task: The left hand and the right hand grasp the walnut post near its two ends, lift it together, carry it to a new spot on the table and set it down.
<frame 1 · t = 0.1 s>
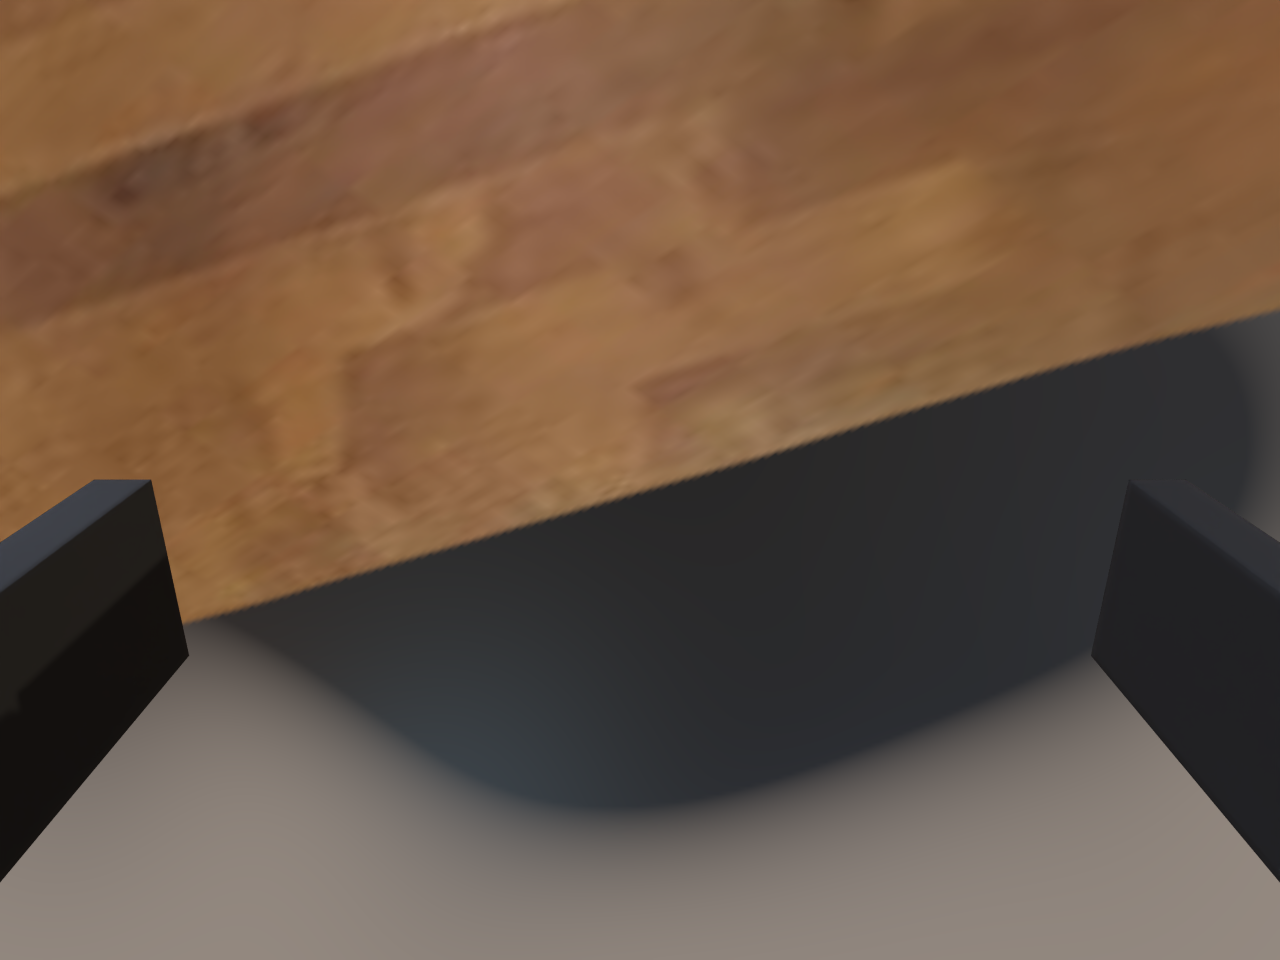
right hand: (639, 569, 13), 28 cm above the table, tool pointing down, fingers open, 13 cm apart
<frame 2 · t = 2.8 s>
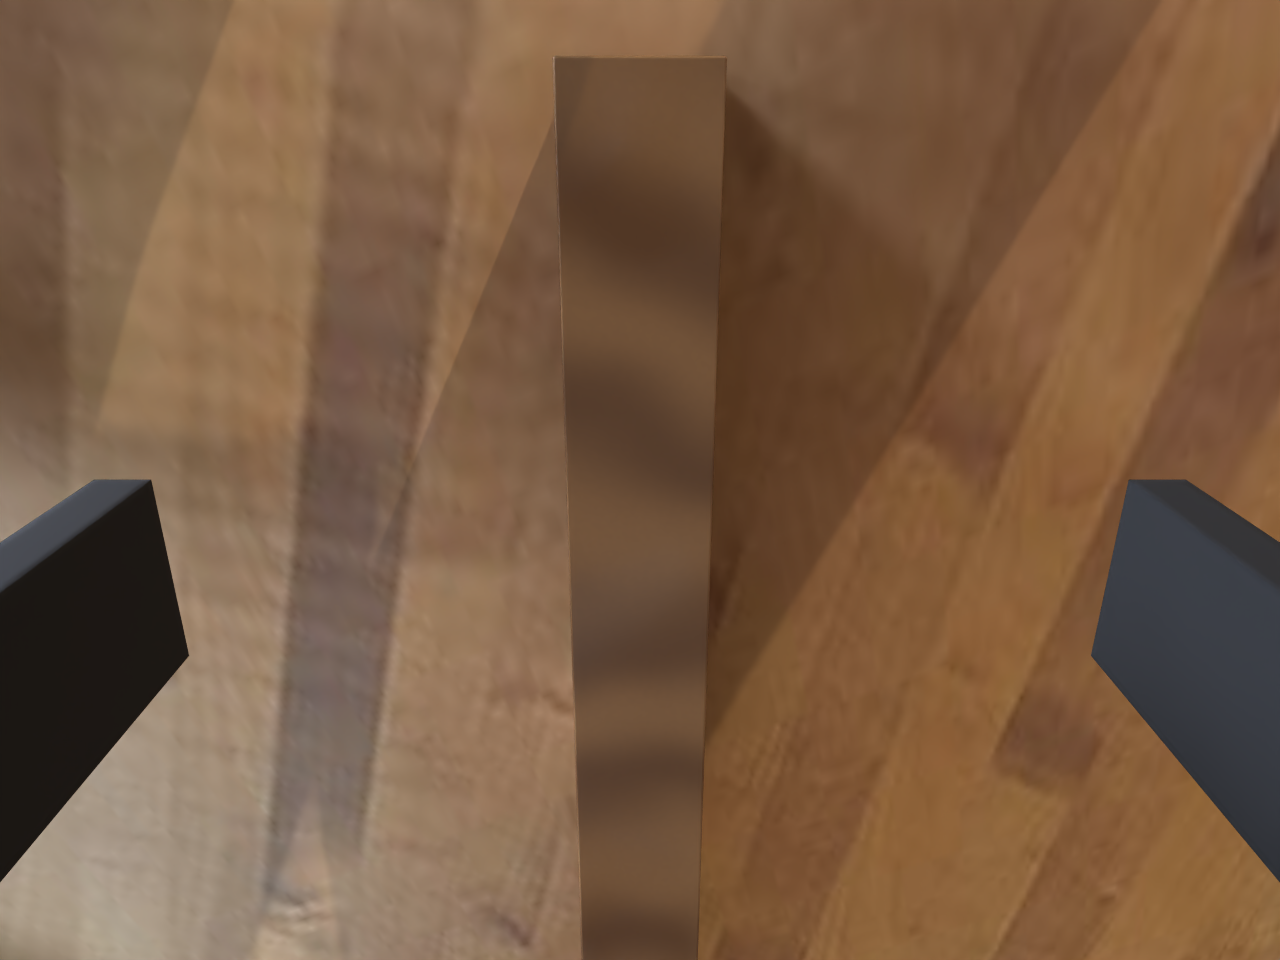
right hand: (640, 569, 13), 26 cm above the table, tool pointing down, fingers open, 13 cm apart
post: (639, 798, 46), on the table, touching left hand
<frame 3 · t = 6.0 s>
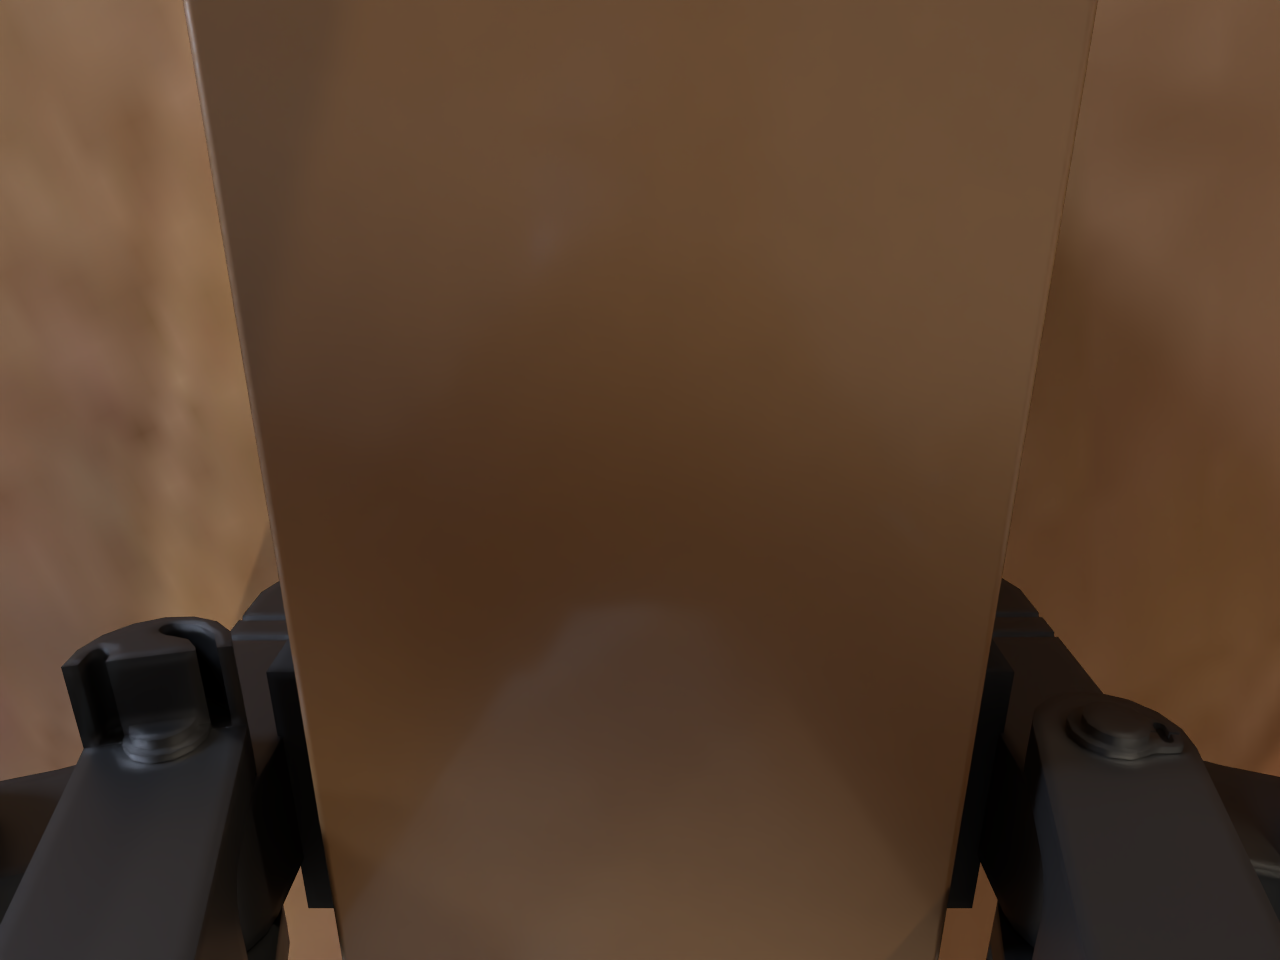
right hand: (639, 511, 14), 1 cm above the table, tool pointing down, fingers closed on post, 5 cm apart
when the left hand's fingers open (2 cm above the table, at t = 10.2 s): post drops 1 cm, on the table.
when the right hand's fingers open (2 cm above the table, at t = 10.2 s): post drops 1 cm, on the table.
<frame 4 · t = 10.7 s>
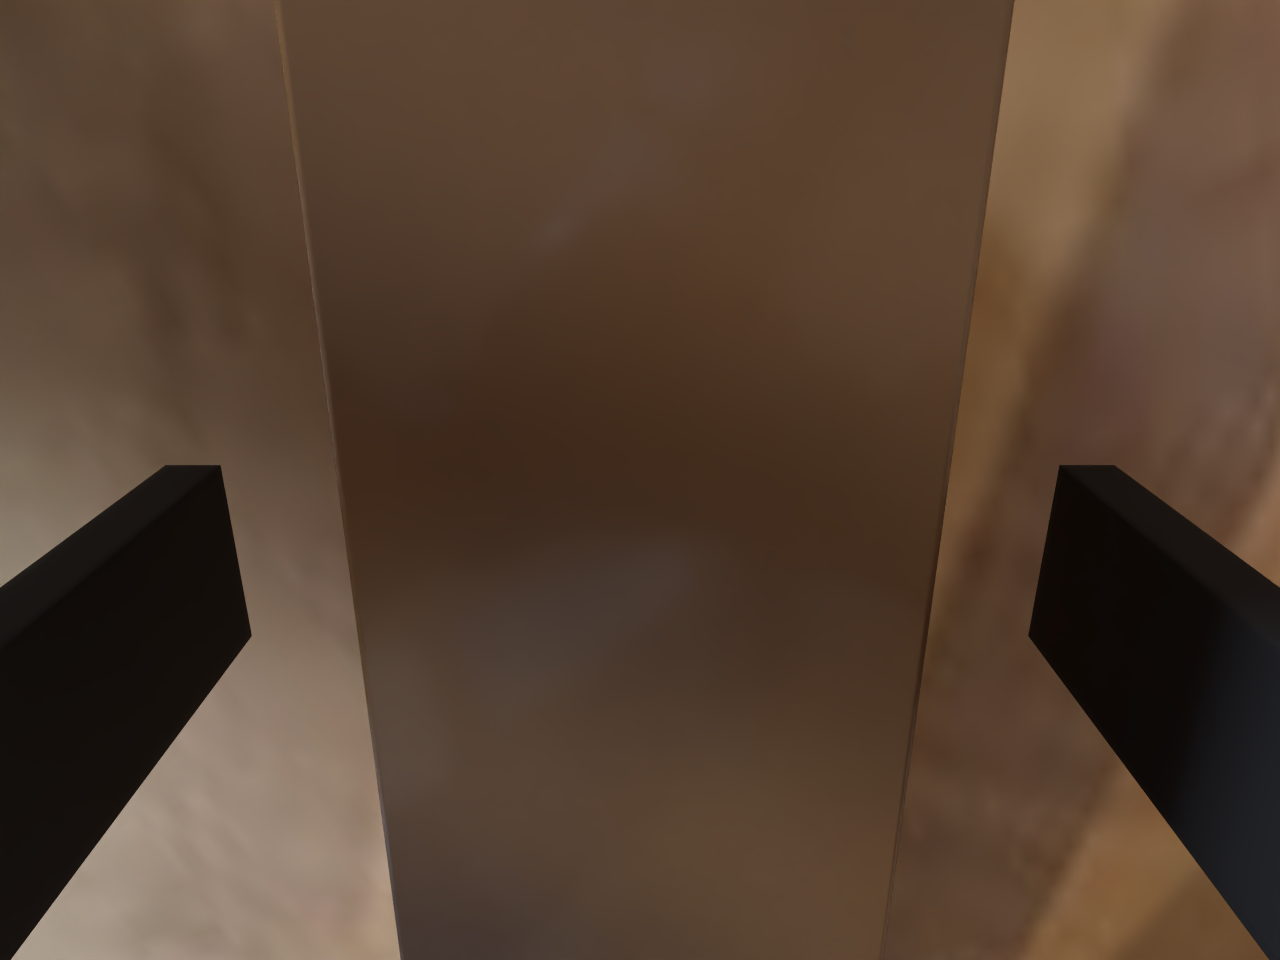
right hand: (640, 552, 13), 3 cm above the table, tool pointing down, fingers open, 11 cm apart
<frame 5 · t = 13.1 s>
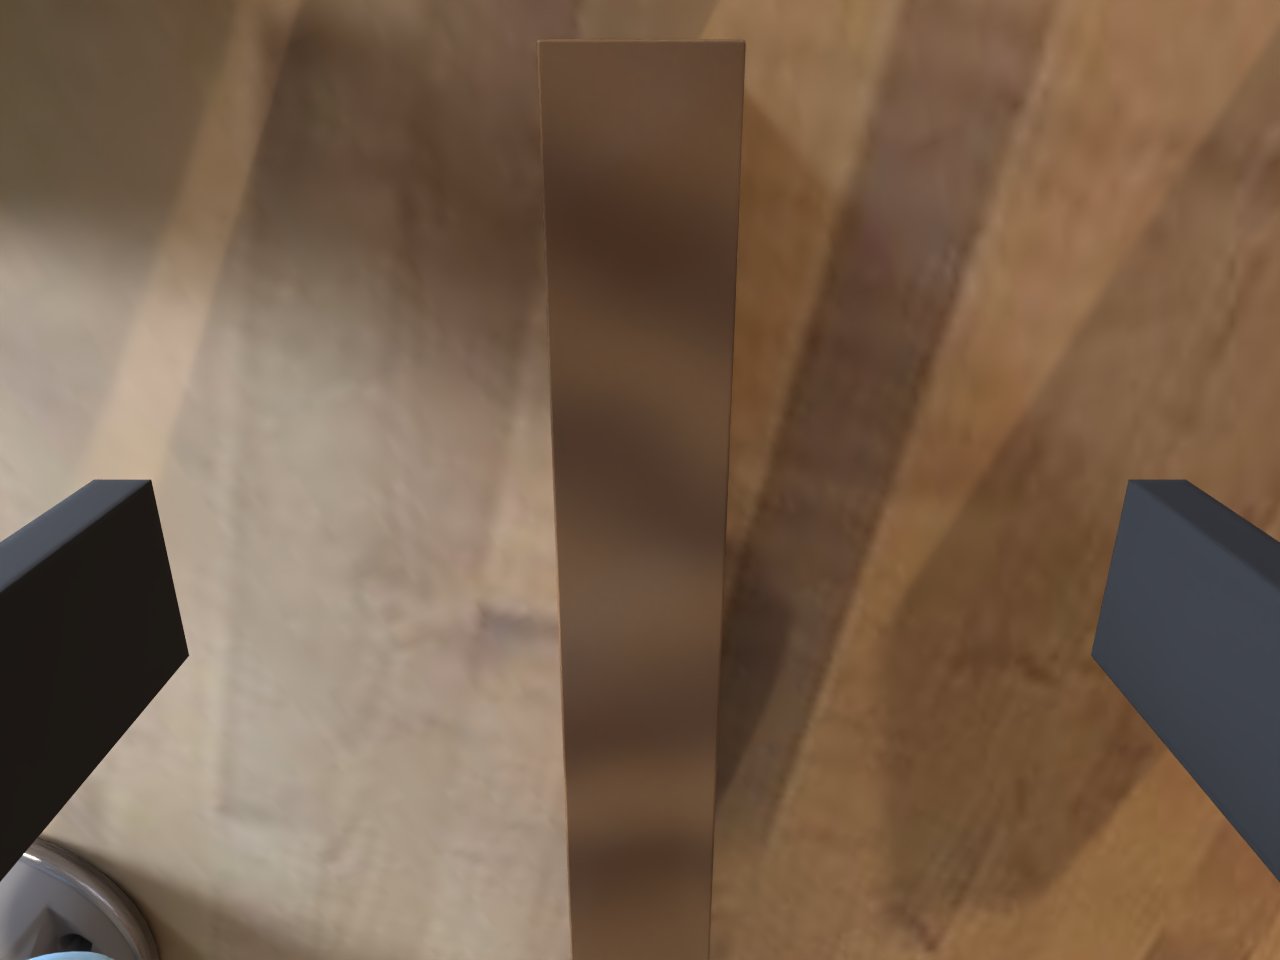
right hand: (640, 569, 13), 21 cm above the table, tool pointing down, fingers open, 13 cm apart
post: (639, 866, 42), on the table
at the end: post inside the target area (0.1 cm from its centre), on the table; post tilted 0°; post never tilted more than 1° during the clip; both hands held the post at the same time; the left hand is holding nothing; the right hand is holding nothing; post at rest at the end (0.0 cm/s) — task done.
